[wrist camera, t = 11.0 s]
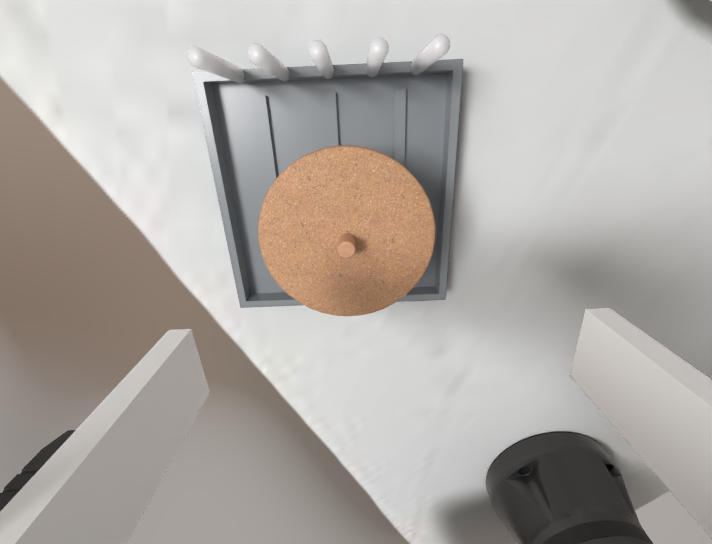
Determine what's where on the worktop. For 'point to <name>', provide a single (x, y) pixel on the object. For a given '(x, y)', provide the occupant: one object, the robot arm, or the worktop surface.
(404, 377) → the worktop surface
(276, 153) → the dish rack
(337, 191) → the lidded jar
